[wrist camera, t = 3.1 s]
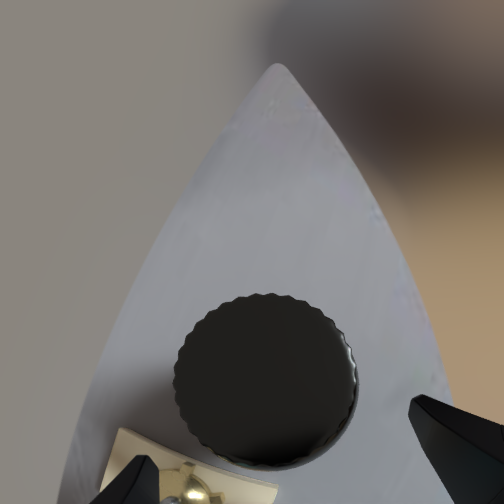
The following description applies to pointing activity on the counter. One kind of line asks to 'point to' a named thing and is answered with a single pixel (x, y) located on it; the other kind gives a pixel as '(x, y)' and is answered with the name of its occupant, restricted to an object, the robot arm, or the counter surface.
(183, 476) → the brass gears
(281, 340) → the supplement bottle
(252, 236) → the counter surface
